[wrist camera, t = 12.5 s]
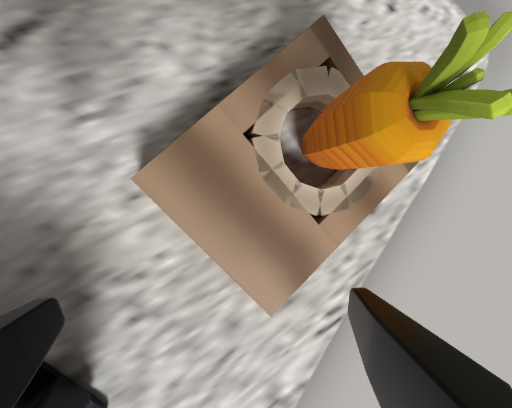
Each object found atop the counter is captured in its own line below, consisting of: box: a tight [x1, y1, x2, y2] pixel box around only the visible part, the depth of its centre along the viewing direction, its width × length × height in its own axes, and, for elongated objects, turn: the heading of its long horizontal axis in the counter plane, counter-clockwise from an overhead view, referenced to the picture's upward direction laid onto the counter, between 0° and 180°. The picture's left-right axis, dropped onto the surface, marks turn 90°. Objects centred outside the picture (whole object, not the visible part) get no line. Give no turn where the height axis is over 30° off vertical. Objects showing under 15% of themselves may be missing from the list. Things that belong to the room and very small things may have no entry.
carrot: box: [301, 12, 512, 170], centre depth 14 cm, size 5×5×15 cm
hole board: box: [130, 15, 419, 316], centre depth 19 cm, size 18×14×3 cm
